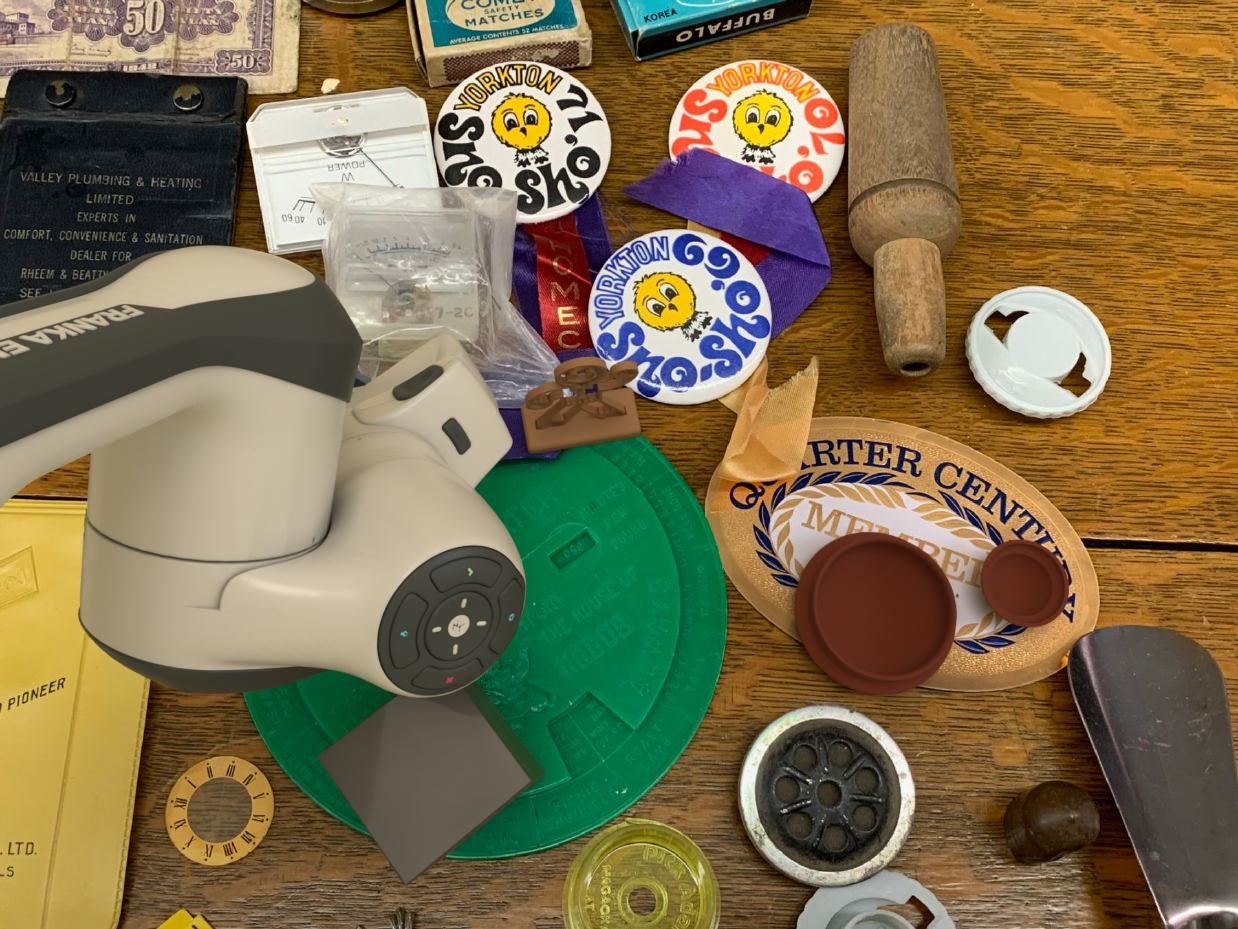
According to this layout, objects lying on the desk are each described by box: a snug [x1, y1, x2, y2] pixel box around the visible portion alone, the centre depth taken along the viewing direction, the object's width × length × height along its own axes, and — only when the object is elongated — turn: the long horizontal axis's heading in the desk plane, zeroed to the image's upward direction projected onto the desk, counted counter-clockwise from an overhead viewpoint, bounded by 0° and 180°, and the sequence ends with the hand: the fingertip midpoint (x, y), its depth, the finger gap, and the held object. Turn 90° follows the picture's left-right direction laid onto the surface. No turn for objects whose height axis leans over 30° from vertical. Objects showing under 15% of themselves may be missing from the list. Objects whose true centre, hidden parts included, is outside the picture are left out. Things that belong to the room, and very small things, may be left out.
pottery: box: [794, 531, 1070, 696], centre depth 69 cm, size 12×20×4 cm, turn 100°
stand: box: [316, 680, 546, 886], centre depth 58 cm, size 8×8×18 cm
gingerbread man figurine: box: [520, 356, 642, 455], centre depth 69 cm, size 9×4×12 cm, turn 101°
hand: (313, 419), depth 64 cm, fingers closed on shaker, 3 cm apart
